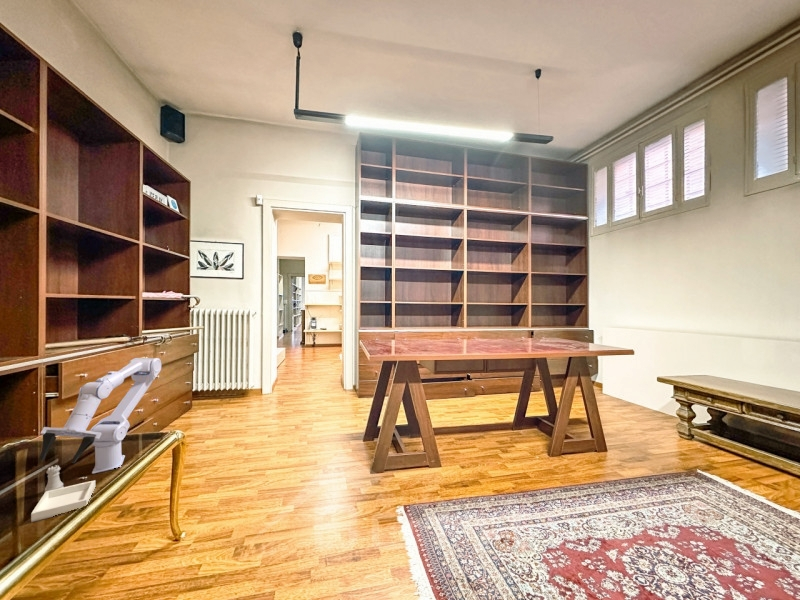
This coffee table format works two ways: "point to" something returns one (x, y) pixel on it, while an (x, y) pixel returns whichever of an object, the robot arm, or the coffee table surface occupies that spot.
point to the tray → (63, 500)
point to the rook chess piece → (53, 479)
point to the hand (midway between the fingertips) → (57, 461)
